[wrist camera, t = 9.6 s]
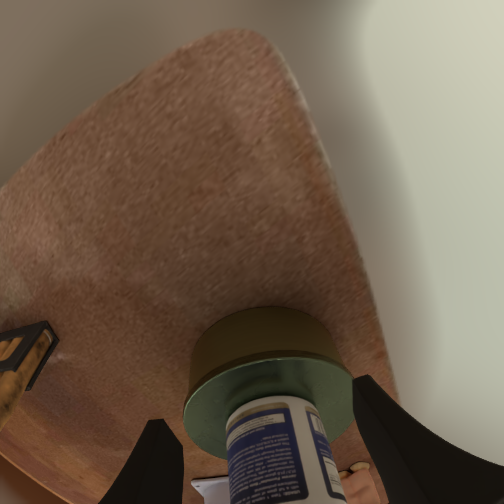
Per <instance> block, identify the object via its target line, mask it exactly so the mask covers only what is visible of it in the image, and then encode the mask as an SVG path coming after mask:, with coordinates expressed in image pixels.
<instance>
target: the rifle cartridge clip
mask: <svg viewBox="0 0 504 504" xmlns="http://www.w3.org/2000/svg"><path fill="white" fill-rule="evenodd" d="M58 342H59V341H58V339H57V338H56V336H55V335H54V333H53V332H52V330H51V328H50V327H49V325H48V324H47V322H46V321H43V322H39V323H36V324H32V325H29V326H25V327H21V328H18V329H14V330H11V331H7V332H4V333H0V432H1V430H2V428H3V426H4V425H5V423H6V422H7V421H8V420H9V419H10V417H11V416H12V414H13V412H14V410H15V408H16V406H17V404H18V402H19V400H20V398H21V396H22V394H23V393H24V391H29V390H31V388H32V386H33V384H34V382H35V381H36V379H37V377H38V375H39V374H40V372H41V370H42V369H43V367H44V365H45V363H46V362H47V360H48V358H49V357H50V355H51V353H52V352H53V350H54V349H55V347H56V345H57V344H58Z"/></svg>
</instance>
